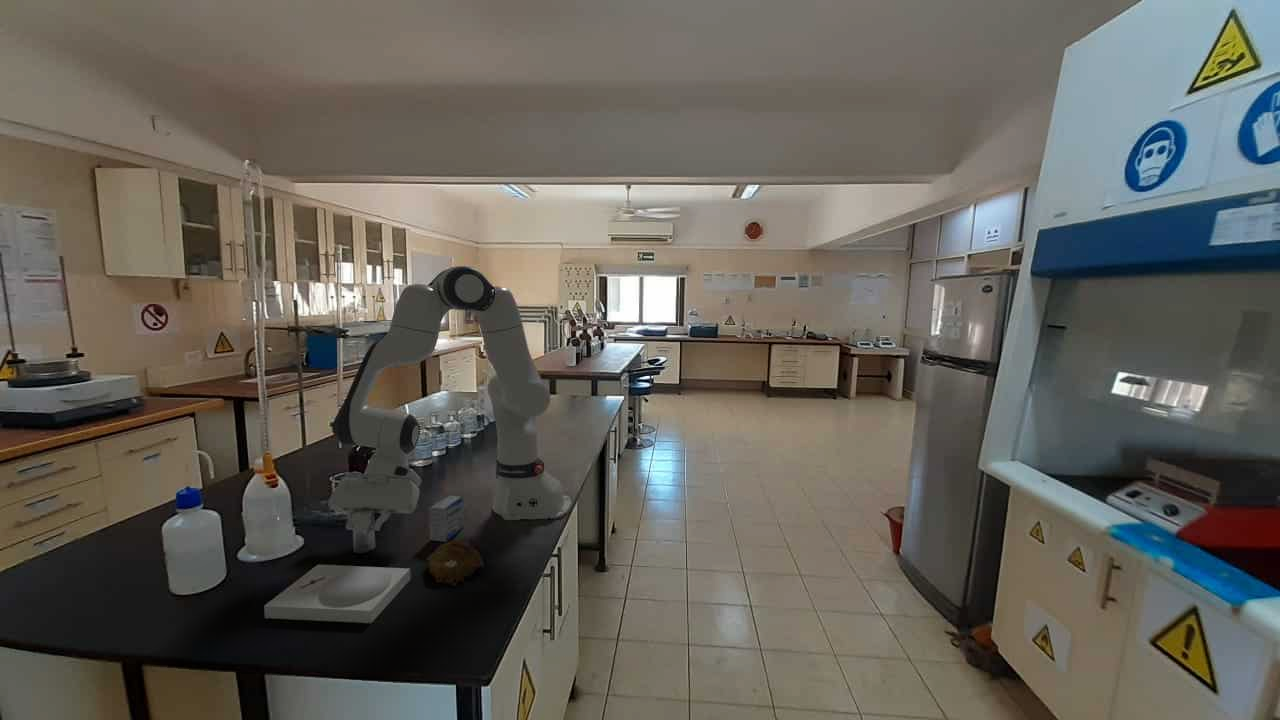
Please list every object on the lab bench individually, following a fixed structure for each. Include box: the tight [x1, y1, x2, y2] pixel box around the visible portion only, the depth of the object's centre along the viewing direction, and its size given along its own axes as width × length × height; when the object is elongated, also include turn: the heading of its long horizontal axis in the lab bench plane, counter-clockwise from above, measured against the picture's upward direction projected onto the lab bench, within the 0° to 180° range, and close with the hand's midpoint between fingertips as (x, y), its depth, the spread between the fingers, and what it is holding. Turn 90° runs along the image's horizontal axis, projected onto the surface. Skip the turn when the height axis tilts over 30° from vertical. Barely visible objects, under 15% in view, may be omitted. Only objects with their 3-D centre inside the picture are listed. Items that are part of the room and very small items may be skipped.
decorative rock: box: [426, 539, 484, 586], centre depth 106 cm, size 11×4×15 cm
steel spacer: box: [352, 508, 376, 554], centre depth 111 cm, size 4×4×9 cm
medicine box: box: [428, 495, 464, 543], centre depth 120 cm, size 8×4×9 cm, turn 168°
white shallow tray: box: [263, 564, 411, 624], centre depth 94 cm, size 20×14×3 cm
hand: (362, 529), depth 111 cm, fingers closed on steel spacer, 4 cm apart
